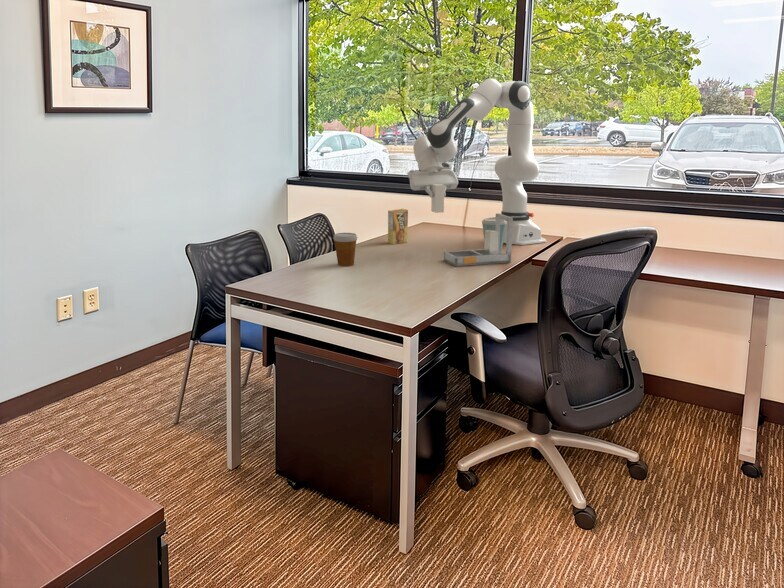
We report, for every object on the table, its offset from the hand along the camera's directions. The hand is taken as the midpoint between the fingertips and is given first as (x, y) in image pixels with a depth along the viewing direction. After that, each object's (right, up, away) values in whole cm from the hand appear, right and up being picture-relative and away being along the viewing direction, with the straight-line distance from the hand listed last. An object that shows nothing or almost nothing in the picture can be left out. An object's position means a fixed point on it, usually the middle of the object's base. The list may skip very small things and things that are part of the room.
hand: (438, 196), depth 259 cm
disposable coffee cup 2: (+25, -22, +15) cm, 36 cm away
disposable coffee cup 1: (-37, -28, -7) cm, 47 cm away
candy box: (-16, -16, +37) cm, 43 cm away
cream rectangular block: (0, -6, +2) cm, 6 cm away
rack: (+15, -27, -2) cm, 31 cm away
